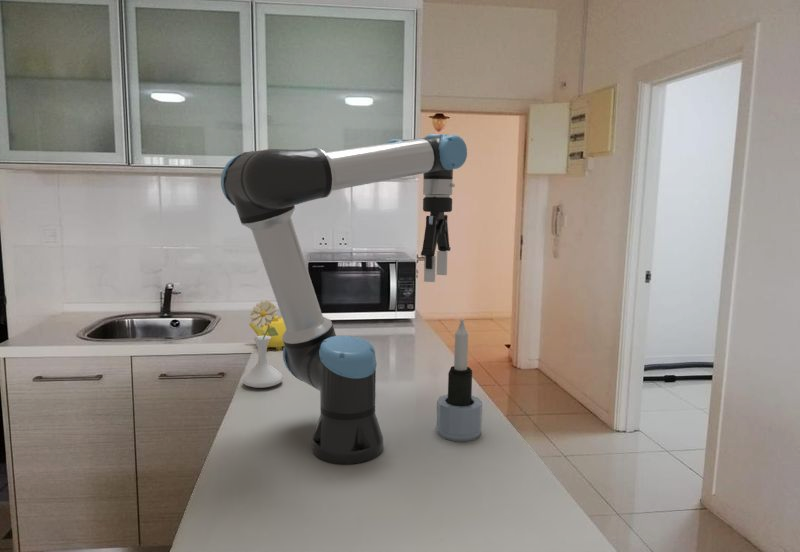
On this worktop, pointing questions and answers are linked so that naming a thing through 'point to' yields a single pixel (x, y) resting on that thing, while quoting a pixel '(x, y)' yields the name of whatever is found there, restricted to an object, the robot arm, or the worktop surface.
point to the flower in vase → (263, 348)
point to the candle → (460, 371)
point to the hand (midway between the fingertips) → (435, 278)
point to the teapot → (275, 340)
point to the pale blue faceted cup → (459, 420)
